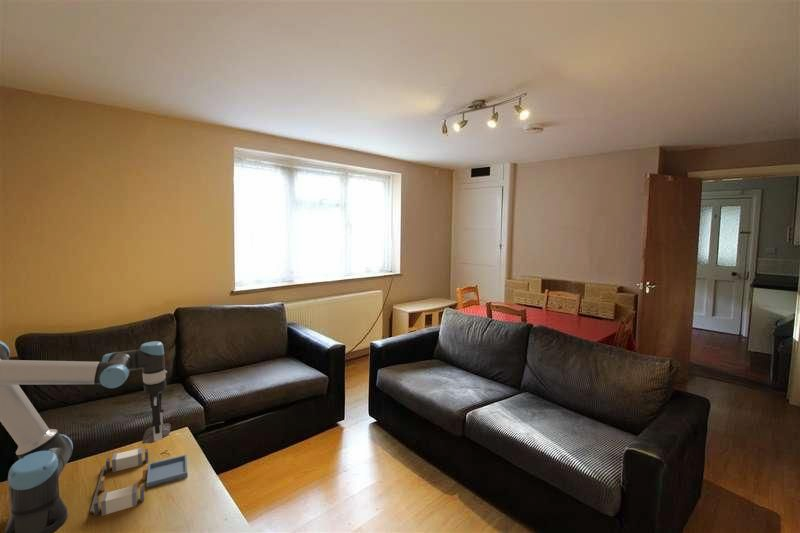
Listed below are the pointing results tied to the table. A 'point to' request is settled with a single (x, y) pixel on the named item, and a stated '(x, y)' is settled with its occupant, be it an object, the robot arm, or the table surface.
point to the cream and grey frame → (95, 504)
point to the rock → (150, 435)
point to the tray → (167, 470)
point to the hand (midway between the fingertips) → (158, 434)
